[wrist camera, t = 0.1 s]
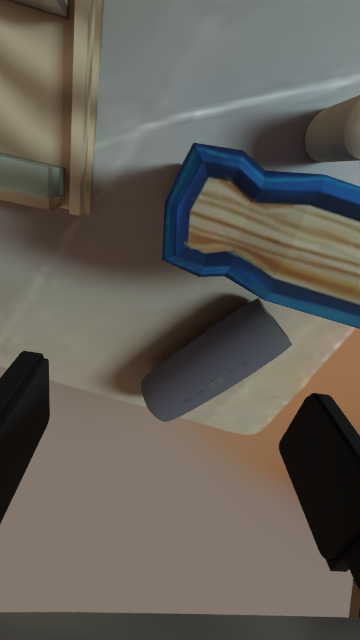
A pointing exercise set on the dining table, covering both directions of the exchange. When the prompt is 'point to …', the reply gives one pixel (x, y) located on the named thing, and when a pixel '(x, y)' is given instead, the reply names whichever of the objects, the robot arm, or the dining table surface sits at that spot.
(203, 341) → the bluetooth speaker
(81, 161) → the wooden platform
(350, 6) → the dining table surface
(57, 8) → the bookend
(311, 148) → the candle
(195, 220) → the blue volume
